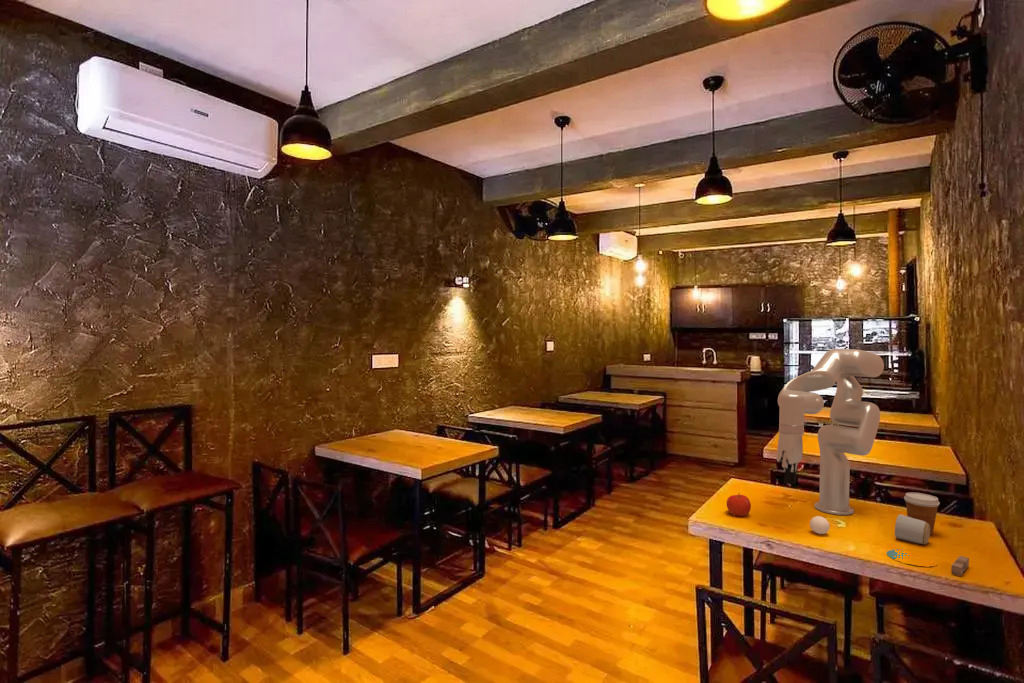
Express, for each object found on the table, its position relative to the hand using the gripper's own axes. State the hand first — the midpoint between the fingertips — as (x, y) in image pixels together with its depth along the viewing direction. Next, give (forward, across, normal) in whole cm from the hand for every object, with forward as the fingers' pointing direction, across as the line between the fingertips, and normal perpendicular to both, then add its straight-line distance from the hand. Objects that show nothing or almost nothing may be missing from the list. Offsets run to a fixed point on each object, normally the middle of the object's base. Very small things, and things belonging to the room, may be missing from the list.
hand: (790, 482), depth 185 cm
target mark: (+15, 0, +34) cm, 38 cm away
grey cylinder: (+15, -18, +30) cm, 38 cm away
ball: (+12, 0, +10) cm, 15 cm away
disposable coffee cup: (+15, -28, +30) cm, 44 cm away
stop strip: (+15, -1, +46) cm, 48 cm away
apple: (+15, +3, -16) cm, 22 cm away
